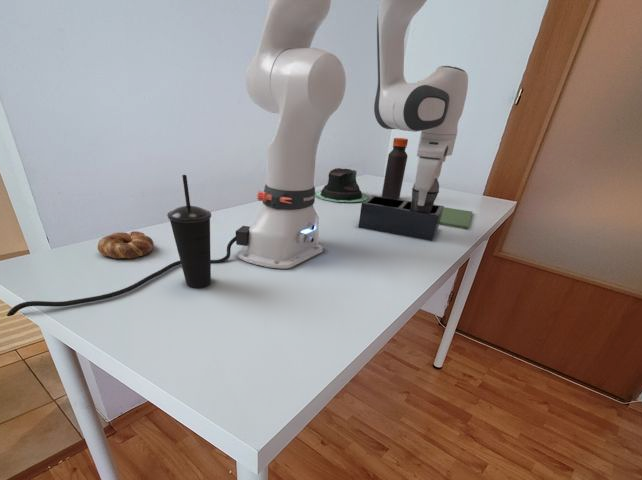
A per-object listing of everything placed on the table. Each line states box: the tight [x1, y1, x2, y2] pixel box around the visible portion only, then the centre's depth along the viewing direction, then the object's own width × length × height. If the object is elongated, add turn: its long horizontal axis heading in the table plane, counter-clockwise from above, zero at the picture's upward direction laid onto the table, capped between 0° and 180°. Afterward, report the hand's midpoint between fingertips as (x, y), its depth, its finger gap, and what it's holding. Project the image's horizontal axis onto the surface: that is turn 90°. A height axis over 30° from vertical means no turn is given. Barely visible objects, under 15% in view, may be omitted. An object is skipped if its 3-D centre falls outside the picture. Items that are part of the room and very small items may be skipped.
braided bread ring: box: [97, 230, 155, 260], centre depth 83 cm, size 12×11×4 cm
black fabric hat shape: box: [315, 167, 369, 203], centre depth 136 cm, size 15×19×20 cm
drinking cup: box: [166, 174, 212, 289], centre depth 67 cm, size 8×8×20 cm
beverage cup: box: [410, 178, 440, 213], centre depth 101 cm, size 7×7×20 cm
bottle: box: [381, 137, 409, 199], centre depth 133 cm, size 7×7×20 cm
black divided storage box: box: [357, 195, 445, 242], centre depth 107 cm, size 11×22×7 cm, turn 65°
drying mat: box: [439, 206, 473, 230], centre depth 122 cm, size 20×18×1 cm
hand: (423, 201), depth 102 cm, fingers open, 7 cm apart
